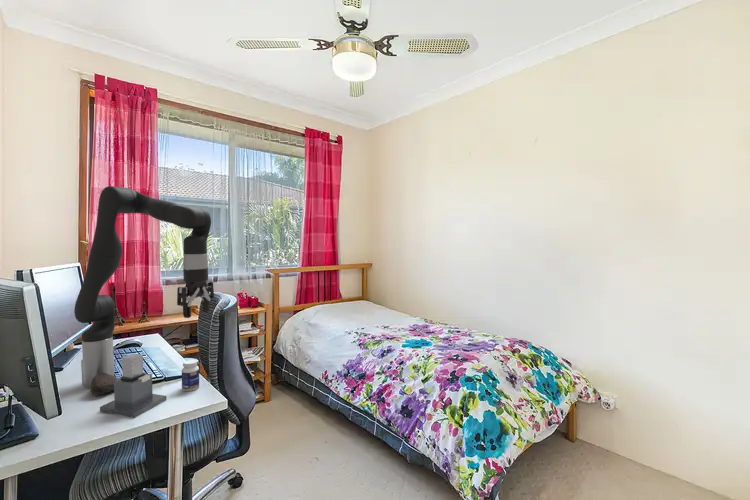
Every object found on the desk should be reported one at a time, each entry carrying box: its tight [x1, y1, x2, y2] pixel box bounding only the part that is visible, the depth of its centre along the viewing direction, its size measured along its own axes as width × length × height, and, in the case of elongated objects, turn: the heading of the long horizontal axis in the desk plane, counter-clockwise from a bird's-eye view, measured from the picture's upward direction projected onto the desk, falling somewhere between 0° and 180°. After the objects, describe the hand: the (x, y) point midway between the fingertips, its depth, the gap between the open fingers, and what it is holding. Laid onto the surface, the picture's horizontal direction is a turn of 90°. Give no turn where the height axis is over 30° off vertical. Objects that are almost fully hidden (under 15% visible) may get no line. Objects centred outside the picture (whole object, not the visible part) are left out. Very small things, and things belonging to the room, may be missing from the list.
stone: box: [89, 373, 118, 397], centre depth 130 cm, size 10×8×10 cm
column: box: [120, 353, 146, 382], centre depth 119 cm, size 5×5×15 cm
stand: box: [99, 373, 167, 418], centre depth 120 cm, size 14×12×10 cm
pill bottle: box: [181, 359, 200, 392], centre depth 133 cm, size 6×6×10 cm
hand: (196, 314), depth 123 cm, fingers open, 8 cm apart
